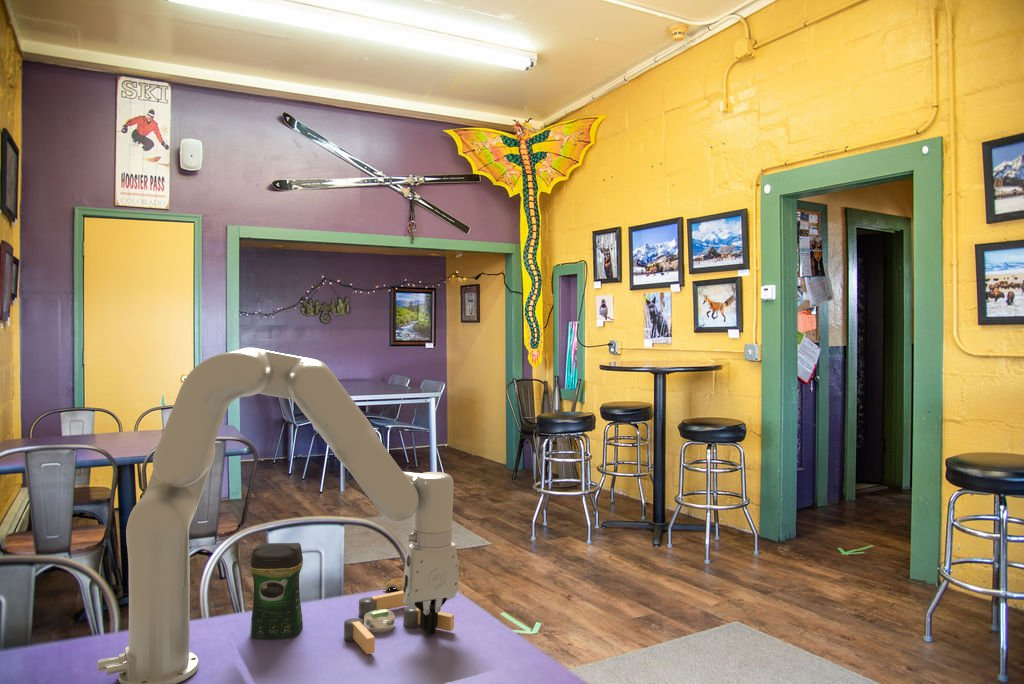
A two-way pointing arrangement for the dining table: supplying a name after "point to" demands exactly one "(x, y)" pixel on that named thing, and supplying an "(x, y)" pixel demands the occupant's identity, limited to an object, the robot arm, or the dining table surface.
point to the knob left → (359, 634)
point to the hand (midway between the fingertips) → (428, 631)
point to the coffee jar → (276, 591)
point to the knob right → (413, 619)
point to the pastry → (394, 585)
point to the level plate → (379, 621)
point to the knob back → (381, 602)
